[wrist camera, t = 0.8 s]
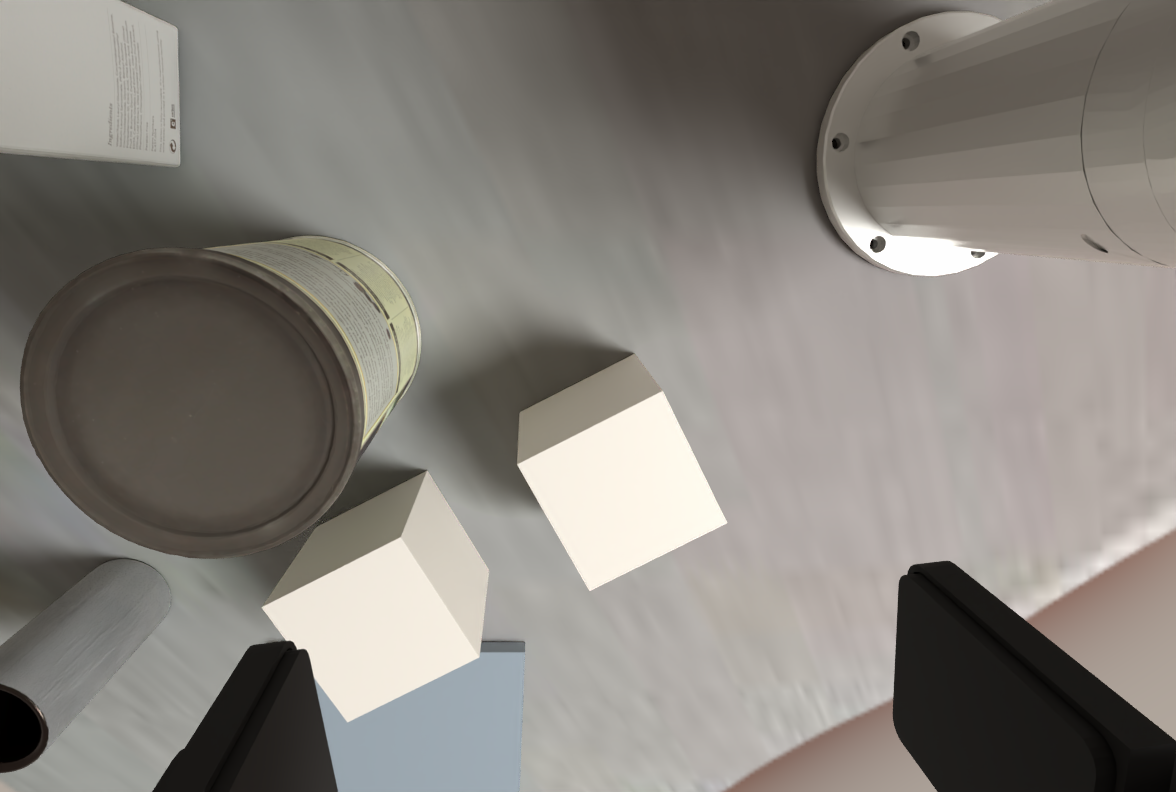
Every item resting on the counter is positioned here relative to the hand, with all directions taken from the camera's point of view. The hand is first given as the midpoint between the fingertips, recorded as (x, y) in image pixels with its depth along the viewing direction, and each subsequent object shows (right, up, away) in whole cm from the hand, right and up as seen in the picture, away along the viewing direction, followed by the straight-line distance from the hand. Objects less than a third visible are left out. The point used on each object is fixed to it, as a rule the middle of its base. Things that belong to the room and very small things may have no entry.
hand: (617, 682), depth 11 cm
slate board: (-12, -17, +31) cm, 37 cm away
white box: (-11, -4, +28) cm, 30 cm away
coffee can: (-14, +8, +25) cm, 30 cm away
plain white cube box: (0, +2, +27) cm, 27 cm away
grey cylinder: (-26, -7, +27) cm, 38 cm away
